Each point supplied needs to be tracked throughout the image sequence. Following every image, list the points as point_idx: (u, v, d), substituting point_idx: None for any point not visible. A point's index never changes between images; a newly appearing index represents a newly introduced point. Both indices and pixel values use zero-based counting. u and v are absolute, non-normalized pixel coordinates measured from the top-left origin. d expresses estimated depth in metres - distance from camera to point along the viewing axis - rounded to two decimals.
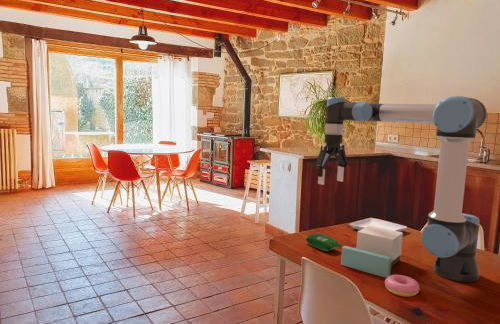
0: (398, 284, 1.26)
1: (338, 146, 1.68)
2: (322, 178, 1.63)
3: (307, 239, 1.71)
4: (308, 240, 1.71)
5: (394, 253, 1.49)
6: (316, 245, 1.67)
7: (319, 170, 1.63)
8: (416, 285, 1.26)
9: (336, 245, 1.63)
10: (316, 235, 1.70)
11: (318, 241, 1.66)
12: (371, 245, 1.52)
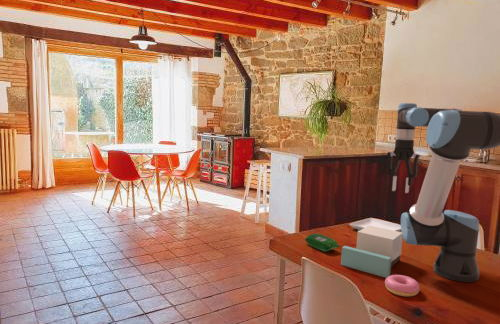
0: (398, 284, 1.26)
1: (409, 151, 1.68)
2: None
3: (306, 239, 1.71)
4: (307, 240, 1.71)
5: (394, 253, 1.49)
6: (315, 245, 1.67)
7: None
8: (416, 285, 1.26)
9: (335, 245, 1.63)
10: (315, 235, 1.70)
11: (317, 241, 1.65)
12: (371, 245, 1.52)
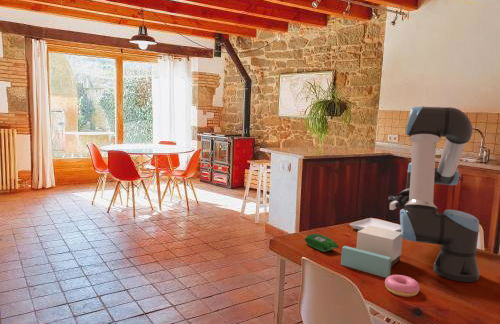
0: (398, 284, 1.26)
1: None
2: None
3: (306, 239, 1.71)
4: (307, 240, 1.71)
5: (394, 253, 1.49)
6: (314, 245, 1.66)
7: None
8: (416, 285, 1.26)
9: (334, 246, 1.63)
10: (315, 235, 1.70)
11: (316, 241, 1.65)
12: (371, 245, 1.52)
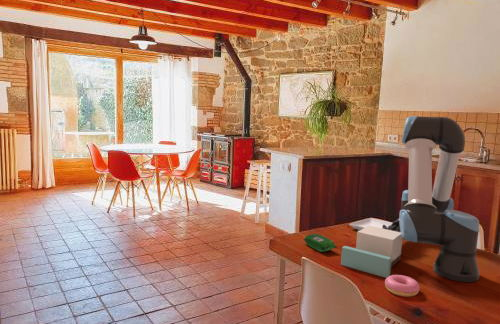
0: (398, 284, 1.26)
1: None
2: None
3: (305, 239, 1.71)
4: (306, 240, 1.71)
5: (393, 253, 1.49)
6: (312, 245, 1.66)
7: None
8: (416, 285, 1.26)
9: (332, 246, 1.62)
10: (314, 235, 1.69)
11: (314, 241, 1.65)
12: (371, 245, 1.52)
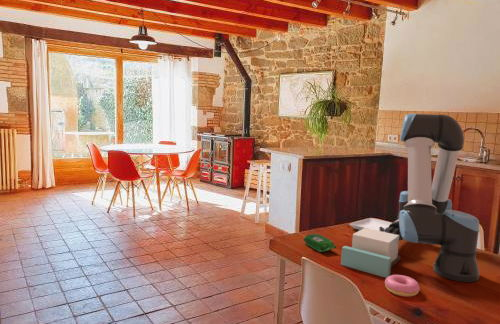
0: (398, 284, 1.26)
1: None
2: None
3: (305, 239, 1.71)
4: (305, 240, 1.71)
5: (390, 256, 1.46)
6: (312, 245, 1.66)
7: None
8: (416, 285, 1.26)
9: (331, 246, 1.62)
10: (313, 235, 1.69)
11: (313, 241, 1.65)
12: (367, 248, 1.48)
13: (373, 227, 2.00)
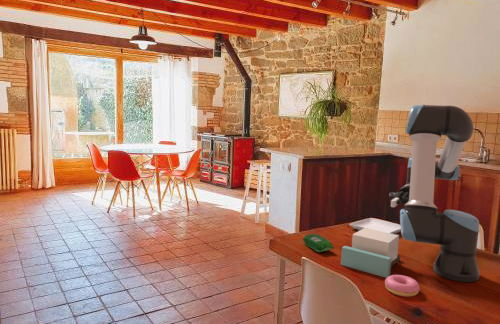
0: (398, 284, 1.26)
1: None
2: None
3: (304, 239, 1.72)
4: (304, 240, 1.71)
5: (389, 256, 1.46)
6: (310, 245, 1.66)
7: None
8: (416, 285, 1.26)
9: (328, 246, 1.61)
10: (312, 235, 1.69)
11: (311, 241, 1.65)
12: (366, 248, 1.48)
13: (373, 227, 2.00)
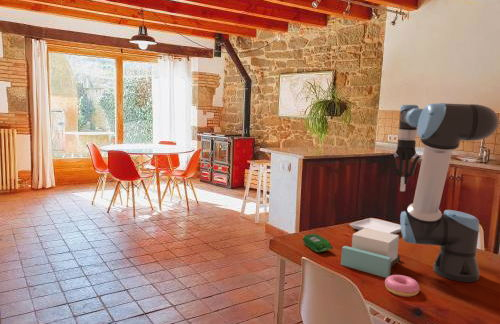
0: (398, 284, 1.26)
1: (411, 151, 1.73)
2: None
3: (303, 239, 1.72)
4: (304, 240, 1.71)
5: (389, 256, 1.46)
6: (309, 245, 1.66)
7: None
8: (416, 285, 1.26)
9: (327, 247, 1.61)
10: (311, 235, 1.69)
11: (310, 241, 1.65)
12: (366, 248, 1.48)
13: (373, 227, 2.00)
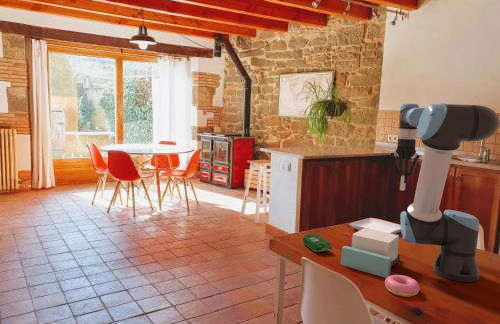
0: (398, 284, 1.26)
1: (411, 150, 1.73)
2: None
3: (303, 239, 1.72)
4: (303, 240, 1.71)
5: (389, 256, 1.46)
6: (308, 245, 1.66)
7: None
8: (416, 285, 1.26)
9: (326, 247, 1.61)
10: (311, 235, 1.69)
11: (310, 241, 1.65)
12: (366, 248, 1.48)
13: (373, 227, 2.00)
